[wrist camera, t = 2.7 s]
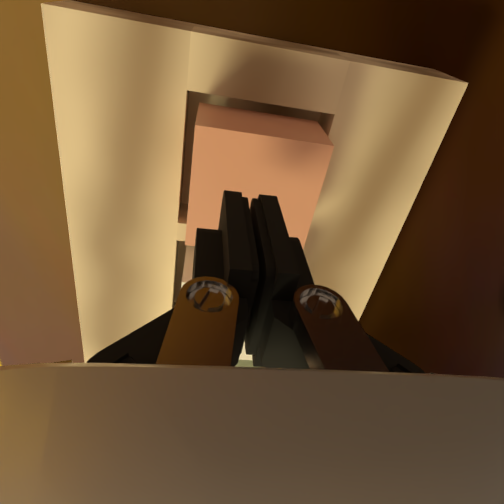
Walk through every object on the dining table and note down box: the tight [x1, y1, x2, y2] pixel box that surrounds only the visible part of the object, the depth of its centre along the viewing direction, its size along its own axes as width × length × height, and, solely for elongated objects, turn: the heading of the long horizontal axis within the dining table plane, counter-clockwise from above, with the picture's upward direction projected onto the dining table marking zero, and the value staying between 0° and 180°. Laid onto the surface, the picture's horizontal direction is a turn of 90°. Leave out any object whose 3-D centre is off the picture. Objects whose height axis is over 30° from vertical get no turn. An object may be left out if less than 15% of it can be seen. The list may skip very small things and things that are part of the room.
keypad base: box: [41, 0, 468, 368], centre depth 22 cm, size 16×24×3 cm, turn 170°
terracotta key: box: [185, 102, 334, 249], centre depth 16 cm, size 5×5×3 cm
